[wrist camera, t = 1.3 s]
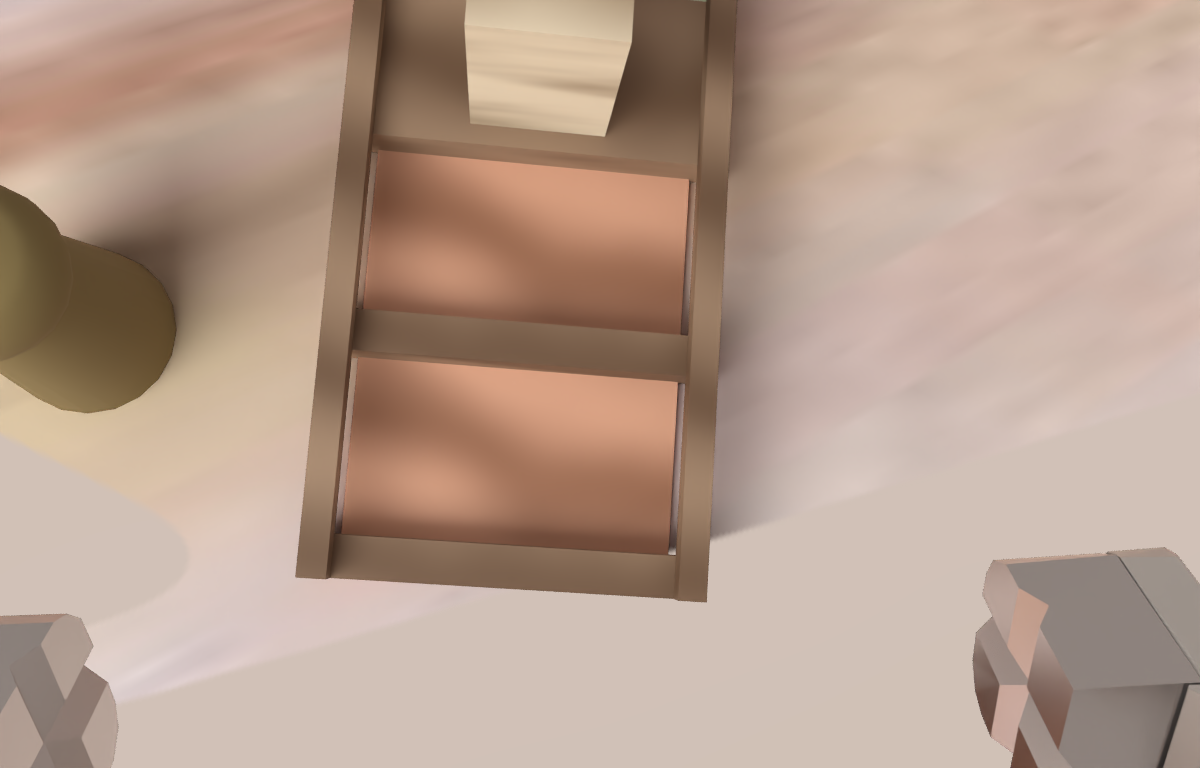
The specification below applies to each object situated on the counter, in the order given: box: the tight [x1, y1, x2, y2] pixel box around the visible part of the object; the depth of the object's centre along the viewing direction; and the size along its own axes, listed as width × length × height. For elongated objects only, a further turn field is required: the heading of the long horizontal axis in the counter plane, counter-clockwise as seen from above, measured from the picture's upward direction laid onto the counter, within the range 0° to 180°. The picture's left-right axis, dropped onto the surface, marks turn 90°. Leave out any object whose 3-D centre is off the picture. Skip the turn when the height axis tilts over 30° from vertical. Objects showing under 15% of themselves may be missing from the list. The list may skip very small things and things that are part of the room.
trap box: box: [295, 0, 737, 602], centre depth 39 cm, size 30×14×6 cm, turn 176°
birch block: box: [464, 0, 634, 137], centre depth 37 cm, size 5×5×8 cm
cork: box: [0, 185, 176, 413], centre depth 34 cm, size 6×6×11 cm
